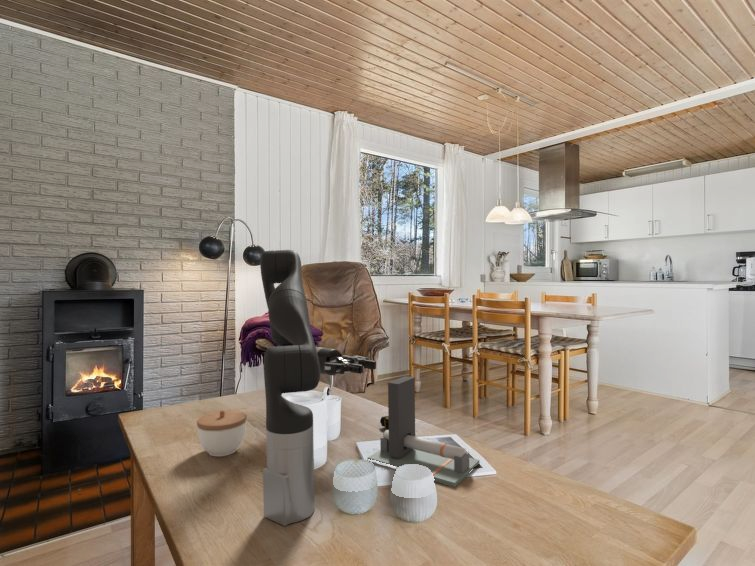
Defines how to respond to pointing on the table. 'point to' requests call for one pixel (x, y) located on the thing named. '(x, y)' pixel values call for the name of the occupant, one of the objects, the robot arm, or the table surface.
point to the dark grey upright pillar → (401, 414)
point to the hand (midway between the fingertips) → (368, 367)
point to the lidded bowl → (222, 432)
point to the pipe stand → (430, 458)
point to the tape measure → (385, 422)
